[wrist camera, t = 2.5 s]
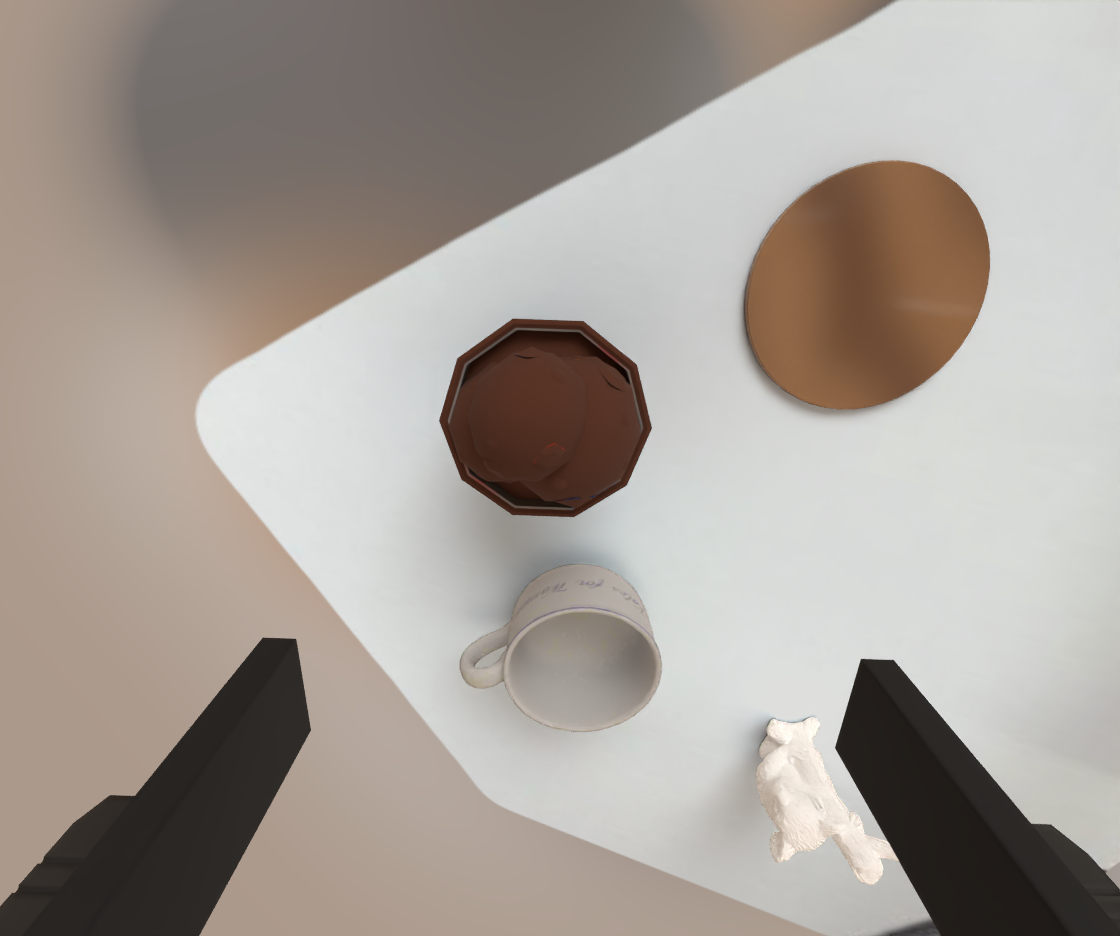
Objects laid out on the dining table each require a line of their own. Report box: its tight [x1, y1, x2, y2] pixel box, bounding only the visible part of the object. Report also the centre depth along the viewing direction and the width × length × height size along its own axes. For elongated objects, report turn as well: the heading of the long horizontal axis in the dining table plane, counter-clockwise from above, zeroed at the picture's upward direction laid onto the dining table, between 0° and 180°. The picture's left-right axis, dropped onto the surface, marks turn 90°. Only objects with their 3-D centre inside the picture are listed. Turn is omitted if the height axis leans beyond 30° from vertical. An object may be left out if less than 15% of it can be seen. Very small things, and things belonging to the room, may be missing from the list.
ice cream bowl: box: [439, 319, 652, 517], centre depth 30 cm, size 11×11×15 cm
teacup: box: [460, 564, 662, 732], centre depth 40 cm, size 14×11×8 cm
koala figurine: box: [756, 717, 899, 885], centre depth 42 cm, size 8×7×12 cm
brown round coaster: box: [745, 161, 990, 409], centre depth 34 cm, size 15×15×1 cm
